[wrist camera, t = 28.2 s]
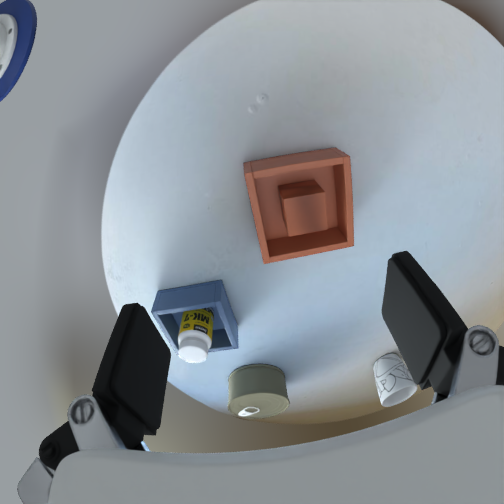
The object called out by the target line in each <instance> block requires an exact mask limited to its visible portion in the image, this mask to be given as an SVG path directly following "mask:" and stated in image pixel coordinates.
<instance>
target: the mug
mask: <svg viewBox="0 0 504 504" xmlns="http://www.w3.org/2000/svg"><path fill="white" fill-rule="evenodd" d="M374 374H375V380H376V386H377V390H378V394H379V397H380V401H381V404H382V405H383V406H393V405H396V404H398V403H400V402H402V401H404V400H406V399H408V398H409V397H410V396H412V395H413V394H414V393H415V391H416V390H417V385H416V384H415V382H414V381H413V378H412V376H411V374H410V372H409V370H408V369H407V367H406V366H405V365H404V363H403V362H402V360H401V359H400V358H399V357H398V355H396V354H394V353H391V354H387V355H384V356H382V357H381V358H379V359H378V360H377V361H376V362H375V364H374Z"/></svg>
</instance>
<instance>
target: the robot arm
mask: <svg viewBox="0 0 504 504" xmlns="http://www.w3.org/2000/svg"><path fill="white" fill-rule="evenodd" d="M17 34H18V27H17V22H16V20H15V18H14V17H13V16H12V15H9V14H0V78H1V77H2V75H3V74H4V72H5V71H6V69H7V67H8V65H9V63H10V60H11V58H12V56H13V52H14V49H15V46H16V41H17ZM382 316H383V319H384V321H385V323H386V325H387V326H388V328H389V330H390V332H391V334H392V336H393V338H394V340H395V342H396V344H397V346H398V348H399V351H400V353H401V355H402V357H403V359H404V361H405V363H406V365H407V367H408V370H409V372H410V374H411V376H412V378H413V381H414V382H415V384H417V385H418V384H419V385H420V387H421V390H424V389H426V388H428V387H431V386H432V387H433V389H434V392H435V394H434V397H433V400H432V403H431V405H430V406H428V407H426V408H423V409H421V410H418V411H416V412H413V413H410V414H408V415H405V416H402V417H400V418H397V419H394V420H391V421H388V422H385V423H382V424H380V425H376V426H373V427H370V428H366V429H363V430H360V431H356V432H352V433H349V434H345V435H341V436H337V437H333V438H328V439H324V440H319V441H315V442H309V443H304V444H298V445H293V446H287V447H279V448H273V449H264V450H254V451H242V452H227V453H166V452H151V451H150V450H149V448H148V447H147V445H146V444H145V442H144V441H143V437H144V435H156V430H157V429H159V427H160V424H161V416H162V409H163V403H164V396H165V389H166V383H167V377H168V371H169V365H170V359H171V353H170V349H169V348H168V346H167V344H166V343H165V341H164V340H163V338H162V336H161V335H160V333H159V332H158V330H157V328H156V327H155V325H154V323H153V321H152V320H151V318H150V316H149V315H148V313H147V311H146V309H145V308H144V307H143V306H140V304H138V303H132V304H125V305H123V307H122V309H121V312H120V314H119V317H118V319H117V322H116V324H115V327H114V329H113V332H112V334H111V337H110V339H109V343H108V345H107V348H106V350H105V353H104V356H103V359H102V361H101V364H100V367H99V370H98V373H97V376H96V379H95V382H94V386H93V388H92V391H93V396H91V395H81V396H79V397H77V398H76V399H74V401H72V403H71V404H70V406H69V409H68V420H69V421H67V422H66V423H65V424H63V425H62V426H61V427H59V428H58V429H57V430H55V431H54V432H53V433H52V434H50V435H49V436H47V437H46V438H45V439H44V440H43V441H42V443H41V445H40V448H39V456H40V459H39V458H36V459H35V460H34V462H33V463H32V464H31V466H30V467H29V469H28V470H27V471H26V473H25V474H24V476H23V477H22V478H21V480H20V481H19V483H18V488H17V490H18V495H19V497H20V499H21V500H22V502H23V504H504V347H502V346H499V342H498V338H497V336H496V334H495V333H494V332H493V331H492V330H491V329H489V328H488V327H485V326H481V325H477V326H473V327H471V328H469V329H468V328H467V326H466V325H465V324H464V322H463V321H462V319H461V318H460V316H459V315H458V314H457V312H456V311H455V309H454V308H453V307H452V305H451V304H450V303H449V301H448V300H447V299H446V297H445V296H444V295H443V293H442V292H441V291H440V289H439V288H438V287H437V286H436V284H435V283H434V282H433V281H432V280H431V278H430V277H429V276H428V275H427V273H426V272H425V271H424V270H423V269H422V267H421V266H420V265H419V264H418V263H417V261H416V260H415V259H414V258H413V257H412V255H411V254H410V253H409V252H408V251H403V252H399V253H394V254H393V255H392V258H390V259H389V260H388V267H387V276H386V284H385V292H384V299H383V305H382Z"/></svg>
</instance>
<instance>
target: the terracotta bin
mask: <svg viewBox="0 0 504 504" xmlns="http://www.w3.org/2000/svg"><path fill="white" fill-rule="evenodd" d="M243 166H244V175H245V180H246V184H247V189H248V193H249V198H250V202H251V207H252V212H253V216H254V221H255V225H256V230H257V235H258V239H259V244H260V249H261V253H262V258H263V263H264V264H266V263H270V262H271V263H272V262H277V261H282V260H287V259H292V258H297V257H302V256H307V255H312V254H317V253H322V252H327V251H332V250H337V249H342V248H347V247H351V246H354V226H353V196H352V178H351V164H350V156H349V155H347V154H346V153H344V152H342V151H341V150H339V149H337V148H328V149H321V150H314V151H307V152H300V153H294V154H288V155H282V156H277V157H271V158H266V159H260V160H255V161H250V162H245V163H243ZM313 179H314V180H315V181H316V182H317V183H318V184H319V185H320V187H321V188H322V189H323V190H324V191H325V196H326V207H327V220H328V229H327V230H322V231H317V232H312V233H306V234H301V235H296V236H291V237H289V235H288V232H287V229H286V226H285V224H284V221H283V216H282V210H281V204H280V198H279V192H278V186H279V185H284V184H290V183H296V182H301V181H307V180H313Z"/></svg>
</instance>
